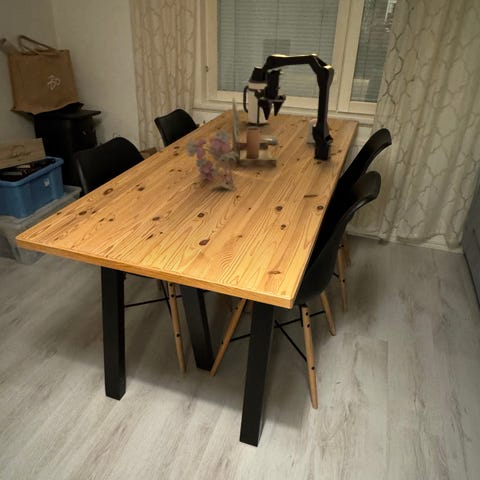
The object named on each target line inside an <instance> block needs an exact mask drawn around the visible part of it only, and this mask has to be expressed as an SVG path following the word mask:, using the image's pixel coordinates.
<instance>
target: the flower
mask: <svg viewBox="0 0 480 480" xmlns="http://www.w3.org/2000/svg"><path fill="white" fill-rule="evenodd" d="M228 131H229V130H228V128H226V130H224V128H221V129H218V130H217V131H216V132H215V136H214V135H213V136H211V137H210V138H209V141H208V142H209V145H208V144H207V140H206V138H204V137H200V138H199V139H198V140H197V142H195V140H194V139H193V138H191V139H188V140H187V143H186V147H184V146H183V145H182V146H181V148H183V149H186V152H187V154H186V155H187V156H188V157H190V158H192V157H194V156H195V154H196V160H195V162H196V163H195V166H196V167H199V168H198V172H199V174H198V177H199V178H200V177H201V178H203V180H206V179H207V180H208V181H213V180H214V179H215V176H216V177H217V176H219V177H220V179H222V180H224V181H225V182H226V183H228V184H226V183H215V184H214V185H212V186H211V187H210V190H209V191H210V192H211V191H212V189H214V188H223V189H224V188H225V189H234V190H236V191H237V190H238V188H237V187H236V186H235V185H234V179H233V174H232V169H231V167H230V163H229V160H230V159H233V160H234V161H235V158H234V156H238V157H239V155H238V154H237V153H236V152H235V151H233V150H232V151H231V148H232V146H231V140H232V139H233V136H230V135H231V133H230V132H228ZM229 136H230V137H229ZM203 145H206V146H205V147H206V148H204V147H202V146H203ZM206 152H207V153H208V154H209V155H211V156H212V159H214V160H215V161H218V162H219V163H217V164H216V168H214V163H213V162H212V161H211V160H210V159H207V157H205V155H207V153H206ZM239 158H240V157H239ZM222 160H223V161H224V162H225V163H223V161H222ZM226 166H227V168H226ZM220 168H222V169H223V171H224V173H225V174H226V176H227V177H225V176H224V175H222V174H220ZM228 171H229V173H228Z"/></svg>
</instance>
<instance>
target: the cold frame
mask: <svg viewBox="0 0 480 480" xmlns="http://www.w3.org/2000/svg"><path fill="white" fill-rule="evenodd" d="M235 98H236V97H234V96H232V151H235V152H236V153H237V154H238V155H239V157H240V158H239V157H238V156H234V155H233V156H234V158H235V160H234V163H235V167H236V168H266V167H267V168H268V167H269V168H272V167H273V168H274V167H277V160H278V159H277V158H273V156H272V154H271V151H270V149H269V145H268V141H260V145H259V158H255V159H251V158H247V157H246V144H247V141H241V139H240V136H239V128H240V126H239V125H240V124H239V117H240V116H239V111H240V110H239V107H238V104H237V101H236V99H235Z"/></svg>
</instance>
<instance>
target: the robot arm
mask: <svg viewBox="0 0 480 480" xmlns="http://www.w3.org/2000/svg"><path fill="white" fill-rule="evenodd" d="M302 65H308V66H310V68H311V70H312V72H313V73H314V74H315V75H316V83H317V87H318V102H317V114H316V115H317V117H316V119H317V123H316V124H315V125H313V126H312V134H311V135H313V139H314V140H315V143H314V144H315V148H314V156H313V158H314V159H317V160H322V161H328V160H329V159H330V158H332V156H331V152H332V151H331V150H332V144H333V142H334V140H335V139H334V138H333V136H332V135H331V134H330V125H329V121H328V122H327V120H328V117H329V116H328V113H329V103H330V102H329V101H330V99H329V98H330V88H331V86H332V83H333V81H334V78H335V69H334V68H333V66H331V65H328V63H327V62H326V61H324V60H323V59H322V58H320V57H319V55H318V54H316V53H311V54H303V55H289V56H288V55H284V54H270V55H268V56H267V58H266V60H265V63H264V65H263V66H262V67H259V66H254V67H253V70H252V73H251V75H250V77H251V79H252V81H253V82H257V83H265V82H266V81H267V86H266V87H265V88H264V90H262V91H260V90H259V89H258V90H255V93H254V96H255V97H256V99H259V98H261V99H259V100H258V101H257V105H259V107H261V108H262V109H263V112H264V116H265V120H268V121H269V117H270V116H271V111H272V109H273V115H274V117H277V116H278V114H279V112H280V110H281V109H282V107H283V105H284V104H285V101H286V99H287V96H286V94H285V93H279V91H280V89H281V86H280V76H282V75H284V74H285V72H284V70H282V68H283V67H286V66H302ZM278 68H279V69H278ZM262 97H263V98H262Z"/></svg>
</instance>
